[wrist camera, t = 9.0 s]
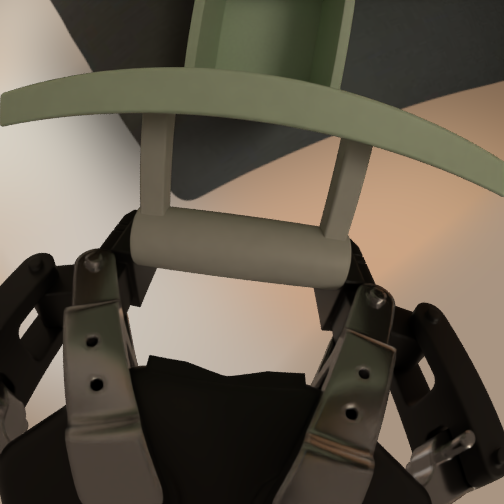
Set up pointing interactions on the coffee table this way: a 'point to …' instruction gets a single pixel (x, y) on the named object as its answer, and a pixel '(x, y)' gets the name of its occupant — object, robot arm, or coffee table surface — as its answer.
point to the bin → (272, 37)
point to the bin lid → (261, 110)
